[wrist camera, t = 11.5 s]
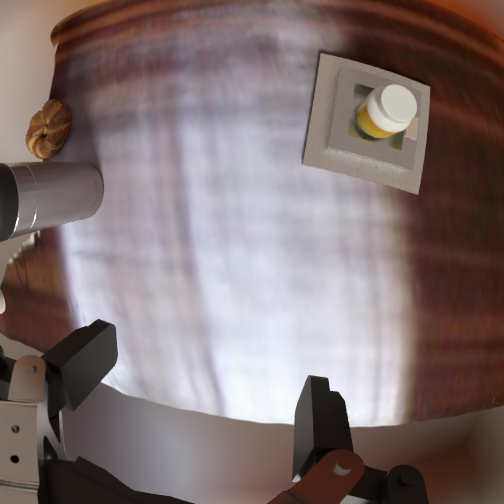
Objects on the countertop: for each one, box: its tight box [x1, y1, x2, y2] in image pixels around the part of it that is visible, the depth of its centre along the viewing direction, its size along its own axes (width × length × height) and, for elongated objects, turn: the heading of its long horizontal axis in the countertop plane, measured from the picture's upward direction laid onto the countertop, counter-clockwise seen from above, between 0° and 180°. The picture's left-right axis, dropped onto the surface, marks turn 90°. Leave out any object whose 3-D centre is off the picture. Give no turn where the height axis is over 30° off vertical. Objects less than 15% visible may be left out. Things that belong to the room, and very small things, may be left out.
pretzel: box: [26, 99, 71, 159], centre depth 36 cm, size 12×11×4 cm
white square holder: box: [302, 53, 430, 195], centre depth 30 cm, size 16×16×4 cm
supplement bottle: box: [355, 84, 417, 140], centre depth 26 cm, size 5×5×10 cm
